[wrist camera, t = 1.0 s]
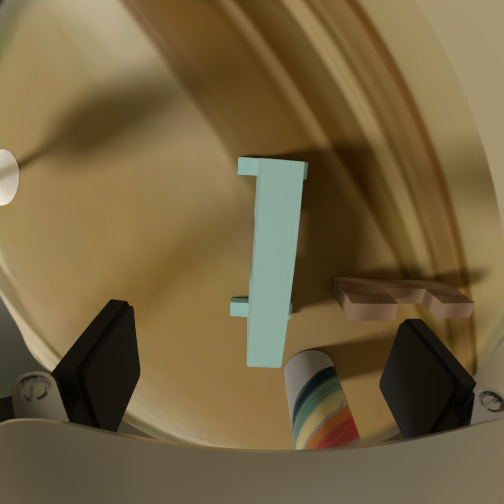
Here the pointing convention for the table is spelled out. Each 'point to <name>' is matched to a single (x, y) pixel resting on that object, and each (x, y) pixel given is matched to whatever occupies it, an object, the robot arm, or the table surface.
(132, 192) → the table surface
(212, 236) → the table surface
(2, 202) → the champagne flute
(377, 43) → the table surface
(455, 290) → the brown u-shaped block
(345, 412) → the lotion bottle
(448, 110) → the table surface
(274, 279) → the teal notched bracket
